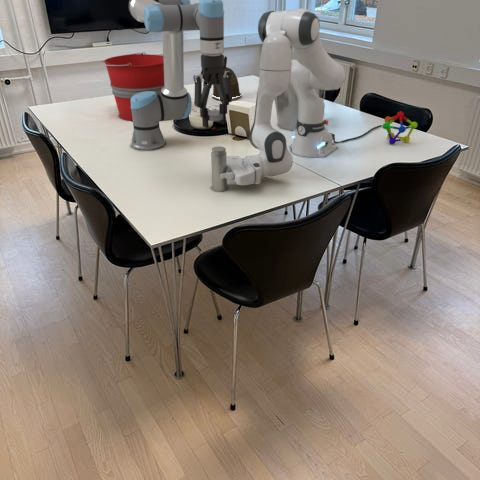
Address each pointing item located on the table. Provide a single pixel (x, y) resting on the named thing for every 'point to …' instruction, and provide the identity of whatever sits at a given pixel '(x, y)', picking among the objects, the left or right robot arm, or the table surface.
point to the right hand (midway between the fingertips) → (216, 172)
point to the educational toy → (398, 128)
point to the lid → (215, 115)
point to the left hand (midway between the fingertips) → (214, 125)
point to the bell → (233, 82)
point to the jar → (218, 168)
